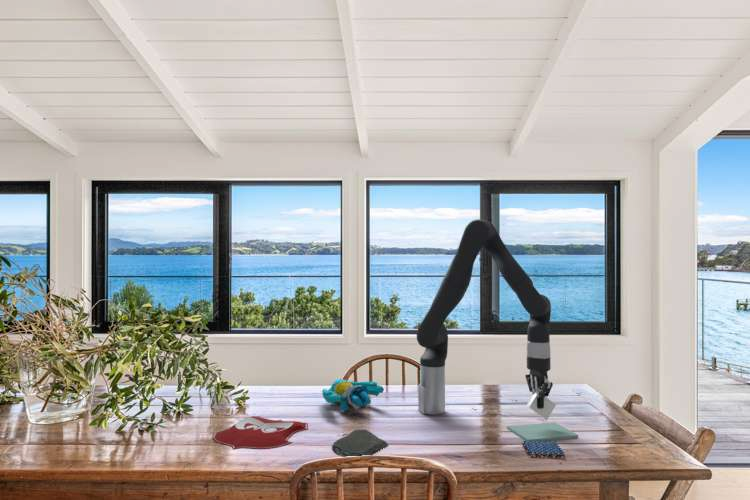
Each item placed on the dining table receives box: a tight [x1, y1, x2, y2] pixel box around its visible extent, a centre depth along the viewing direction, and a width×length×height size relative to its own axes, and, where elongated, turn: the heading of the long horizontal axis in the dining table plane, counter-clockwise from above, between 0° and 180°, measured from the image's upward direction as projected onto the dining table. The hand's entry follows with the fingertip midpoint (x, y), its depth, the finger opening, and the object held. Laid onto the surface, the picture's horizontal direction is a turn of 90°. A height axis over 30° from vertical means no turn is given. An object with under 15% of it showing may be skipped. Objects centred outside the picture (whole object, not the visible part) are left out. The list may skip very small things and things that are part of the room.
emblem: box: [212, 415, 309, 450], centre depth 165 cm, size 29×3×30 cm
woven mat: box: [521, 440, 566, 460], centre depth 151 cm, size 10×11×2 cm
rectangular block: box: [526, 391, 557, 421], centre depth 169 cm, size 6×2×8 cm
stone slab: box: [331, 428, 389, 457], centre depth 155 cm, size 24×17×2 cm
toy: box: [321, 378, 385, 414], centre depth 193 cm, size 22×12×25 cm
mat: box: [506, 421, 579, 442], centre depth 167 cm, size 18×13×1 cm
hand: (538, 407), depth 168 cm, fingers closed on rectangular block, 1 cm apart
